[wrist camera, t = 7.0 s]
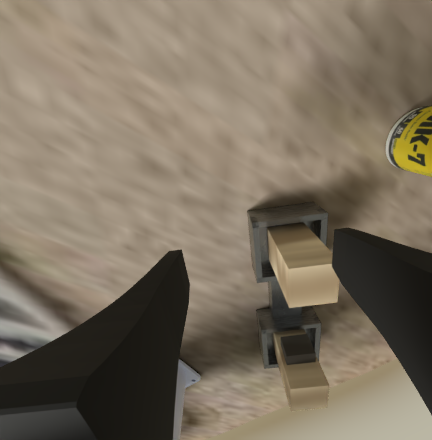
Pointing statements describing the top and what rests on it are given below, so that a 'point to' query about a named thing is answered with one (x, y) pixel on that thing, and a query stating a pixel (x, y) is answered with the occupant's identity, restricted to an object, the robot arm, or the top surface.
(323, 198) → the top surface
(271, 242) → the beige wooden block
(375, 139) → the top surface
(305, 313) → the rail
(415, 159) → the supplement bottle
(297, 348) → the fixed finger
